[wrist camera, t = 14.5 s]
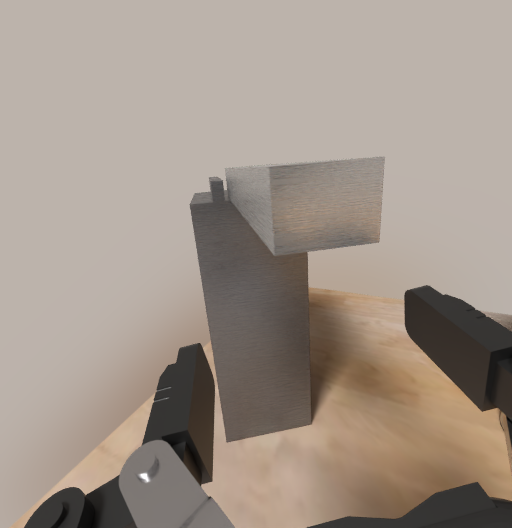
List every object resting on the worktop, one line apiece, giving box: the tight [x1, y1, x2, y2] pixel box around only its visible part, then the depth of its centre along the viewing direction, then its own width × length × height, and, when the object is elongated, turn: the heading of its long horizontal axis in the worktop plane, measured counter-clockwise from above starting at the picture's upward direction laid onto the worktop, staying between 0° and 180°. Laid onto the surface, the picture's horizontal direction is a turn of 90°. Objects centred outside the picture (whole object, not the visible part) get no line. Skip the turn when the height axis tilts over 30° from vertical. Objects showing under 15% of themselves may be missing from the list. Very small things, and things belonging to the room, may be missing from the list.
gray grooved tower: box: [190, 177, 311, 442], centre depth 41 cm, size 14×12×34 cm
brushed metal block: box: [225, 157, 385, 256], centre depth 20 cm, size 22×4×3 cm, turn 10°
